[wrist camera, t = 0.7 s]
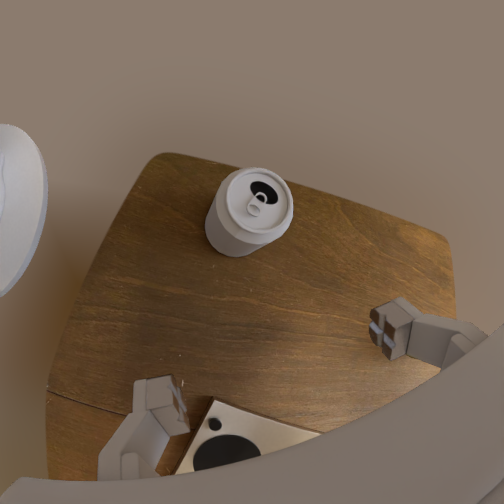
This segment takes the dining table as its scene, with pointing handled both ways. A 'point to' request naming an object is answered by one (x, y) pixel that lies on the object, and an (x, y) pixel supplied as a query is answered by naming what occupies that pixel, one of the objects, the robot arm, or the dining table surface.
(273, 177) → the can
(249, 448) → the hob
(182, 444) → the dining table surface
